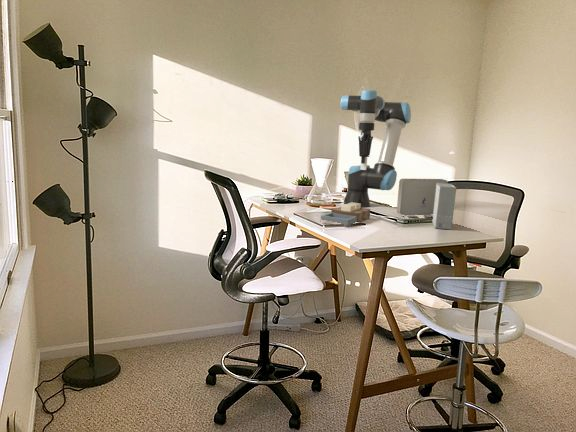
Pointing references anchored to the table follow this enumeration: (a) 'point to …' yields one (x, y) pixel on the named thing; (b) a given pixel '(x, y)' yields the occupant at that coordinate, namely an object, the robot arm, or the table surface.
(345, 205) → the tile
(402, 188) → the network device
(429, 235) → the table surface
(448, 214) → the hard drive box
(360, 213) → the bench plate
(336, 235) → the table surface
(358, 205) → the tile
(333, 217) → the box
